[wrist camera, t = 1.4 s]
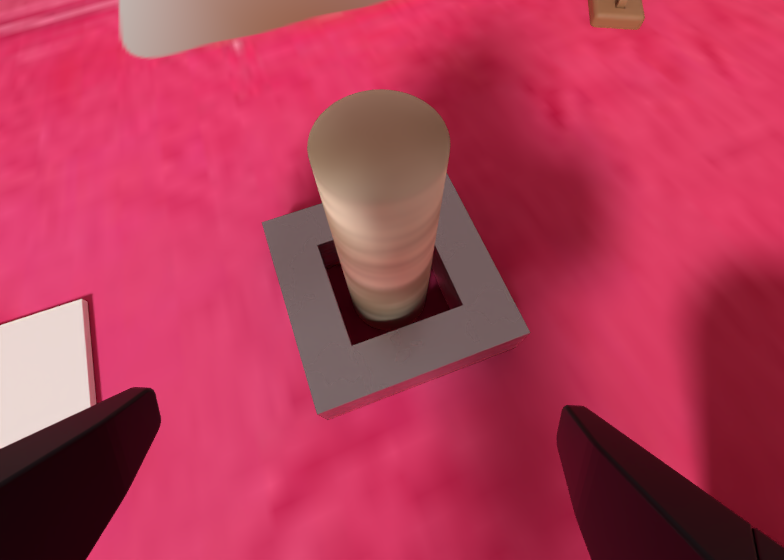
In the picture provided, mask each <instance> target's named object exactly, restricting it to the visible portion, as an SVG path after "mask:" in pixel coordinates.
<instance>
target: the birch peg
mask: <svg viewBox="0 0 784 560" xmlns="http://www.w3.org/2000/svg"><path fill="white" fill-rule="evenodd" d="M307 149H308V157H309V161H310V164H311V168H312V171H313V174H314V177H315V181H316V184H317V187H318V191H319V194H320V197H321V200H322V204H323V207H324V210H325V214H326V217H327V220H328V224H329V227H330V230H331V233H332V237H333V240H334V243H335V247H336V250H337V253H338V256H339V260H340V263H341V266H342V270H343V273H344V276H345V279H346V283H347V286H348V289H349V293H350V296H351V299H352V303H353V306H354V309H355V311H356V313H357V314H358V316H359V317H360V318H361V319H362V320H363V321H364V322H365V323H366V324H368V325H370V326H371V327H374V328H376V329H380V330H387V331H390V330H397V329H399V328H402V327H405V326H408V325H410V324H411V323H412V322H414V321H415V320H416V319H417V318H418V317H419V315H420V314H421V312H422V310H423V308H424V306H425V302H426V296H427V290H428V283H429V277H430V271H431V265H432V259H433V252H434V246H435V240H436V234H437V228H438V221H439V215H440V209H441V203H442V197H443V190H444V184H445V178H446V172H447V166H448V159H449V153H450V136H449V132H448V129H447V127H446V125H445V122H444V121H443V119H442V118H441V116H440V115H439V114H438V113H437V112H436V110H435V109H433V108H432V107H431V106H430V105H429V104H427V103H426V102H424V101H423V100H421V99H419V98H417V97H415V96H412V95H410V94H407V93H403V92H399V91H393V90H369V91H363V92H358V93H355V94H352V95H349V96H347V97H344V98H342V99H340V100H338V101H337V102H335V103H333V104H332V105H331V106H329V107H328V108H327V109H326V110H325V111H324V112H323V113H322V114H321V115H320V116H319V117H318V119H317V120H316V122H315V123H314V125H313V127H312V129H311V132H310V134H309V138H308V147H307Z"/></svg>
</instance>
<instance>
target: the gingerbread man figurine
mask: <svg viewBox="0 0 784 560" xmlns="http://www.w3.org/2000/svg"><path fill="white" fill-rule="evenodd" d="M588 6H589V16H590V25H591V26H593V27H601V28H617V29H633V30H637V29H639V28H640V26H641V25H642V23H643V21H644V18H645V16H644V11H643V5H642V0H588Z"/></svg>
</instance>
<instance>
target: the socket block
mask: <svg viewBox="0 0 784 560" xmlns="http://www.w3.org/2000/svg"><path fill="white" fill-rule="evenodd" d="M262 225H263V228H264V232H265V235H266V239H267V242H268V246H269V249H270V253H271V256H272V260H273V263H274V266H275V270H276V273H277V277H278V280H279V284H280V287H281V291H282V294H283V298H284V301H285V305H286V308H287V312H288V315H289V318H290V322H291V325H292V329H293V332H294V336H295V339H296V343H297V346H298V350H299V353H300V357H301V360H302V363H303V367H304V370H305V374H306V377H307V381H308V384H309V388H310V391H311V395H312V398H313V402H314V405H315V409H316V412H317V415H319V416H321V417H323V418H325V419H327V420H329V419H331V418H334V417H337V416H339V415H342V414H344V413H347V412H350V411H352V410H355V409H357V408H360V407H363V406H365V405H368V404H370V403H373V402H376V401H378V400H381V399H383V398H386V397H388V396H391V395H394V394H396V393H399V392H401V391H404V390H407V389H409V388H412V387H414V386H417V385H420V384H422V383H425V382H427V381H430V380H432V379H435V378H438V377H440V376H443V375H445V374H448V373H451V372H453V371H456V370H458V369H461V368H464V367H466V366H469V365H471V364H474V363H476V362H479V361H482V360H484V359H487V358H489V357H492V356H495V355H497V354H500V353H502V352H505V351H508V350H510V349H513V348H515V347H516V346H517V345H518V344H519V343H520V342H521V341H522V340H523V339H524V338H525V337H526V336H527V335H529V334H530V331H529V329H528V327H527V325H526V323H525V321H524V320H523V318H522V316H521V314H520V312H519V310H518V308H517V306H516V304H515V302H514V300H513V299H512V297H511V295H510V293H509V291H508V289H507V287H506V285H505V283H504V281H503V279H502V278H501V276H500V274H499V272H498V270H497V268H496V266H495V264H494V262H493V260H492V258H491V257H490V255H489V253H488V251H487V249H486V247H485V245H484V243H483V241H482V239H481V237H480V235H479V234H478V232H477V230H476V228H475V226H474V224H473V222H472V220H471V218H470V216H469V214H468V213H467V211H466V209H465V207H464V205H463V203H462V201H461V199H460V197H459V195H458V193H457V192H456V190H455V188H454V186H453V184H452V182H451V180H450V178H449V176H448V174H447V172H446V178H445V184H444V190H443V197H442V203H441V209H440V215H439V221H438V228H437V234H436V240H435V246H434V252H433V259H432V265H431V269H432V271H433V273H434V276H435V278H436V280H437V282H438V284H439V287H440V289H441V291H442V293H443V295H444V298H445V300H446V302H447V304H448V306H449V309H450V310H449V311H446V312H443V313H440V314H438V315H435V316H432V317H429V318H427V319H424V320H421V321H418V322H416V323H413V324H410V325H408V326H405V327H402V328H399V329H397V330H394V331H391V332H388V333H386V334H383V335H380V336H378V337H375V338H372V339H369V340H367V341H364V342H361V343H358V344H356V345H352V343H351V340H350V337H349V334H348V331H347V328H346V325H345V322H344V319H343V316H342V313H341V310H340V308H339V305H338V302H337V299H336V296H335V293H334V290H333V287H332V284H331V281H330V278H329V275H328V273H327V270H326V268H328V267H331V266H334V265H337V264H340V260H339V256H338V253H337V250H336V247H335V243H334V240H333V237H332V233H331V230H330V227H329V224H328V220H327V217H326V214H325V210H324V207H323V204H322V203H321V204H318V205H315V206H312V207H309V208H306V209H302V210H299V211H296V212H293V213H290V214H287V215H284V216H281V217H277V218H274V219H271V220H268V221H265V222H262Z"/></svg>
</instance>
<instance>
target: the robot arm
mask: <svg viewBox="0 0 784 560" xmlns="http://www.w3.org/2000/svg"><path fill="white" fill-rule="evenodd" d="M160 423H161V416H160V412H159V407H158V403H157V399H156V394H155V392H154V390H153V389H151V388H143V387H133V388H130V389H128V390H126V391H123V392H121V393H119V394H117V395H115V396H113V397H110V398H108V399H106V400H104V401H102V402H100V403H98V404H95V405H93V406H91V407H89V408H87V409H85V410H83V411H80V412H78V413H76V414H74V415H72V416H70V417H67V418H65V419H63V420H61V421H59V422H57V423H55V424H52V425H50V426H48V427H46V428H44V429H42V430H40V431H37V432H35V433H33V434H31V435H29V436H27V437H24V438H22V439H20V440H18V441H16V442H14V443H12V444H9V445H7V446H5V447H3V448H1V449H0V560H86V559H87V557H88V555H89V554H90V552H91V551H92V549H93V547H94V546H95V544H96V542H97V541H98V539H99V538H100V536H101V534H102V533H103V531H104V530H105V528H106V526H107V525H108V523H109V522H110V520H111V518H112V517H113V515H114V514H115V512H116V510H117V509H118V507H119V505H120V504H121V502H122V500H123V499H124V497H125V495H126V494H127V492H128V490H129V488H130V486H131V484H132V482H133V480H134V478H135V476H136V474H137V472H138V470H139V468H140V466H141V464H142V462H143V460H144V458H145V456H146V454H147V452H148V450H149V448H150V446H151V444H152V442H153V440H154V438H155V436H156V434H157V432H158V430H159V427H160ZM557 448H558V452H559V455H560V459H561V463H562V467H563V471H564V475H565V478H566V482H567V486H568V490H569V494H570V498H571V502H572V505H573V509H574V512H575V516H576V519H577V522H578V525H579V527H580V530H581V533H582V535H583V538H584V541H585V543H586V546H587V549H588V551H589V554H590V557H591V559H592V560H784V547H782V546H781V545H779V544H778V543H777V542H775V541H774V540H772V539H771V538H770V537H768V536H767V535H765V534H764V533H763V532H761V531H760V530H758V529H757V528H752V526H751V524H750V523H748V522H747V521H745V520H744V519H743V518H741V517H740V516H738V515H737V514H736V513H734V512H733V511H731V510H730V509H729V508H727V507H726V506H724V505H723V504H722V503H720V502H719V501H717V500H716V499H714V498H713V497H712V496H710V495H709V494H707V493H706V492H705V491H703V490H702V489H700V488H699V487H698V486H696V485H695V484H693V483H692V482H691V481H689V480H688V479H686V478H685V477H683V476H682V475H681V474H679V473H678V472H676V471H675V470H674V469H672V468H671V467H669V466H668V465H667V464H665V463H664V462H662V461H661V460H660V459H658V458H657V457H655V456H654V455H652V454H651V453H650V452H648V451H647V450H645V449H644V448H643V447H641V446H640V445H638V444H637V443H636V442H634V441H633V440H631V439H630V438H629V437H627V436H626V435H624V434H623V433H621V432H620V431H619V430H617V429H616V428H614V427H613V426H612V425H610V424H609V423H607V422H606V421H605V420H603V419H602V418H600V417H599V416H598V415H596V414H595V413H593V412H592V411H590V410H589V409H588V408H586V407H584V406H574V405H566V406H565V407H563V409H562V412H561V417H560V422H559V427H558V431H557Z"/></svg>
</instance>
